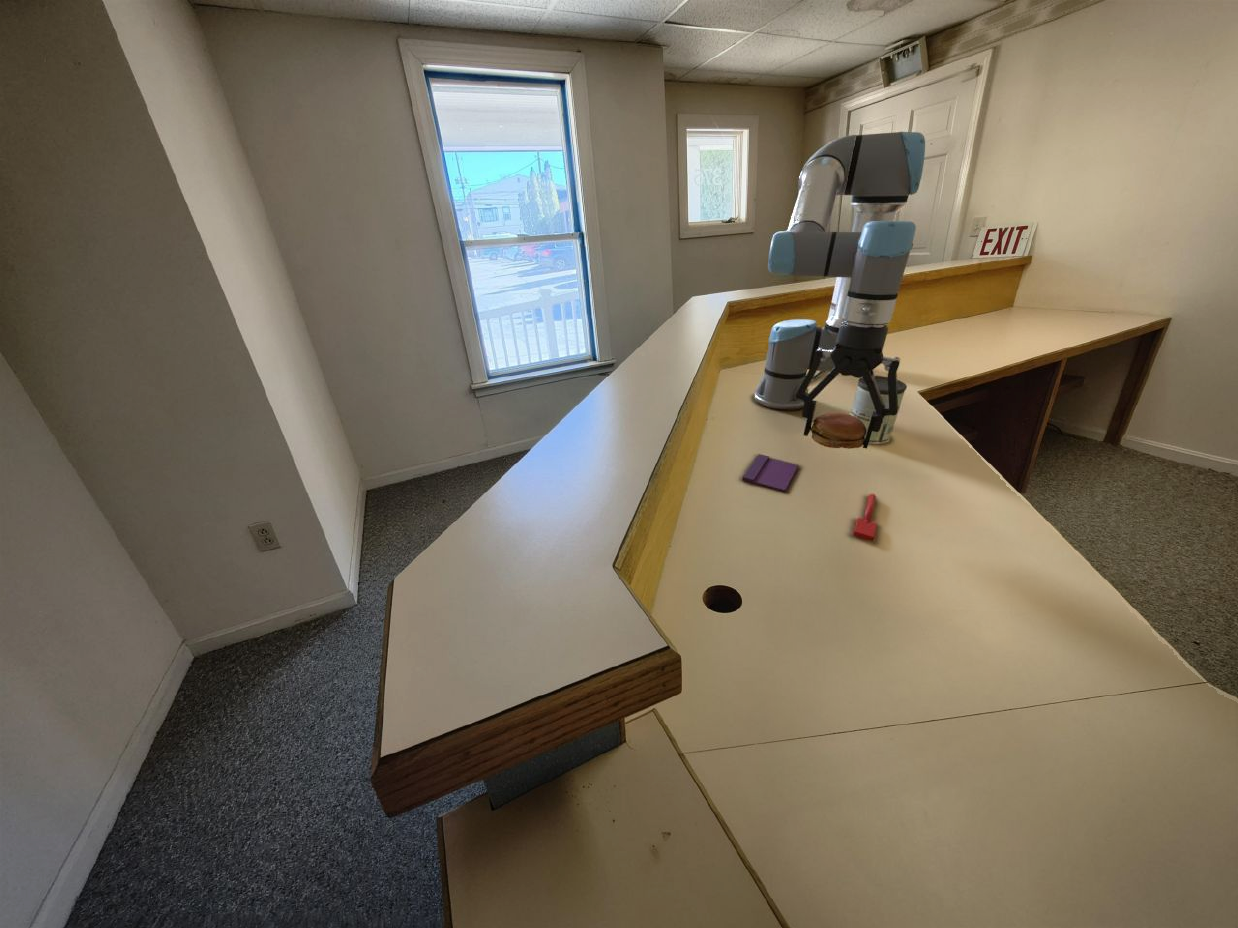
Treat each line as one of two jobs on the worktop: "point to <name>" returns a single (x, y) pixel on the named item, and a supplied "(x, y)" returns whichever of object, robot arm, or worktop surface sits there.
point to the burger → (838, 431)
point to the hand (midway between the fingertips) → (835, 439)
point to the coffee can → (865, 408)
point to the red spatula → (866, 522)
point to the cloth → (770, 473)
